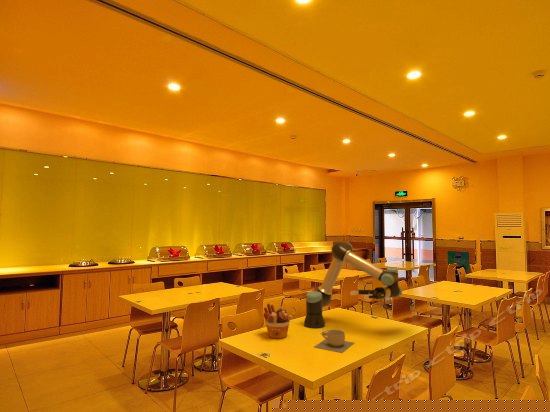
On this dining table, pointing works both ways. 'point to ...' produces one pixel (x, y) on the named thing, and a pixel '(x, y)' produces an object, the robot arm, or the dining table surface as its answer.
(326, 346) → the placemat
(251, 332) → the dining table surface
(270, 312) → the bucket of meat
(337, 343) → the teacup
